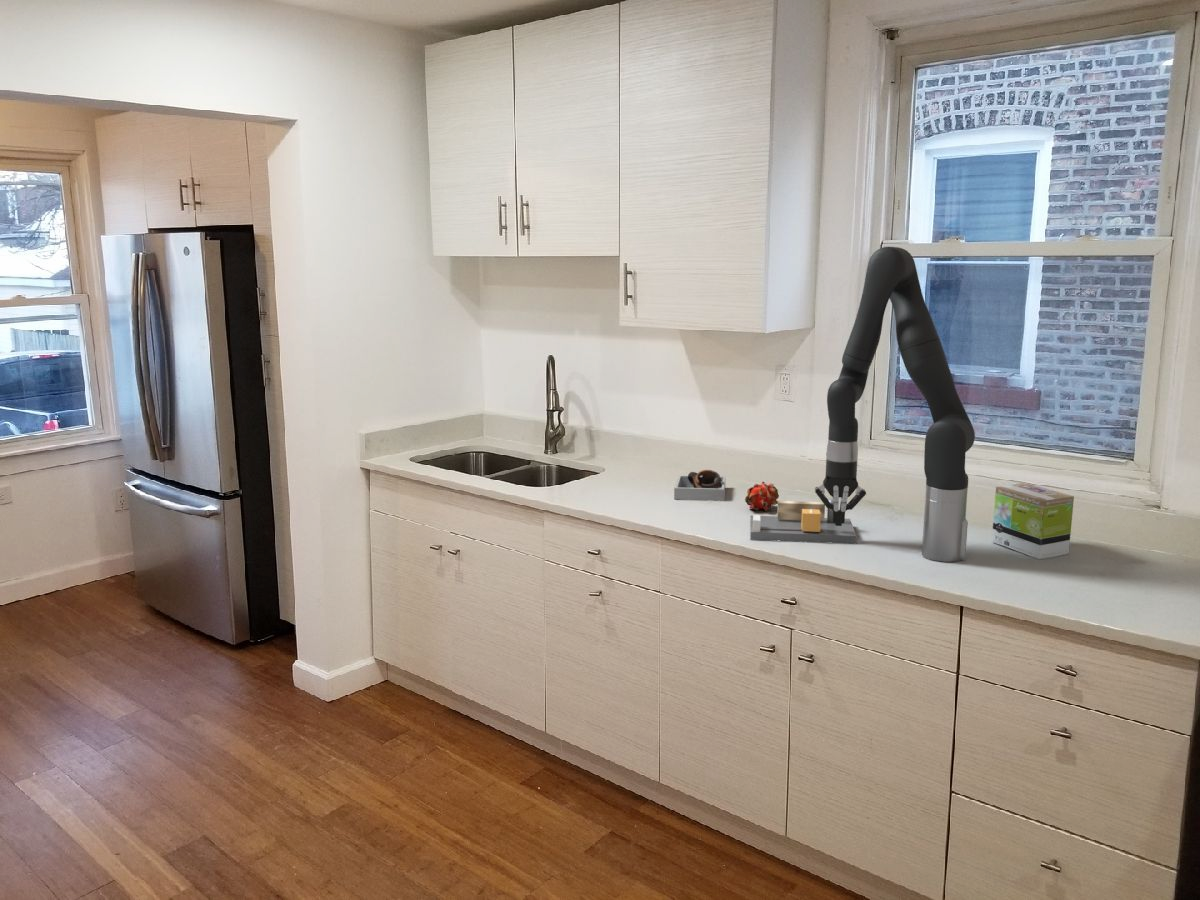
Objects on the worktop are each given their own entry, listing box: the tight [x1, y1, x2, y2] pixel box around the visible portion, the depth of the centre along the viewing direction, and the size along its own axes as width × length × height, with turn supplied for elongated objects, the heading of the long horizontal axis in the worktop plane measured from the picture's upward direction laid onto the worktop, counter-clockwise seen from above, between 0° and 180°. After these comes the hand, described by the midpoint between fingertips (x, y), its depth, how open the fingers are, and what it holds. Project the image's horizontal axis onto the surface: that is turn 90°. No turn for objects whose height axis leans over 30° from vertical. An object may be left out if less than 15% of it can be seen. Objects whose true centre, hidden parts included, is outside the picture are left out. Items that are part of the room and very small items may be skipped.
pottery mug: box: [687, 469, 722, 489], centre depth 287 cm, size 12×10×8 cm
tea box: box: [991, 482, 1075, 560], centre depth 228 cm, size 15×10×15 cm
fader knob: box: [801, 509, 821, 532], centre depth 239 cm, size 4×4×5 cm
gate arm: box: [776, 500, 826, 521], centre depth 248 cm, size 12×2×4 cm, turn 81°
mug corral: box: [673, 475, 727, 502], centre depth 287 cm, size 15×17×4 cm
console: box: [749, 497, 858, 544], centre depth 244 cm, size 26×16×8 cm, turn 81°
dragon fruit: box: [744, 481, 780, 512], centre depth 267 cm, size 8×8×12 cm
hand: (838, 524), depth 238 cm, fingers closed
